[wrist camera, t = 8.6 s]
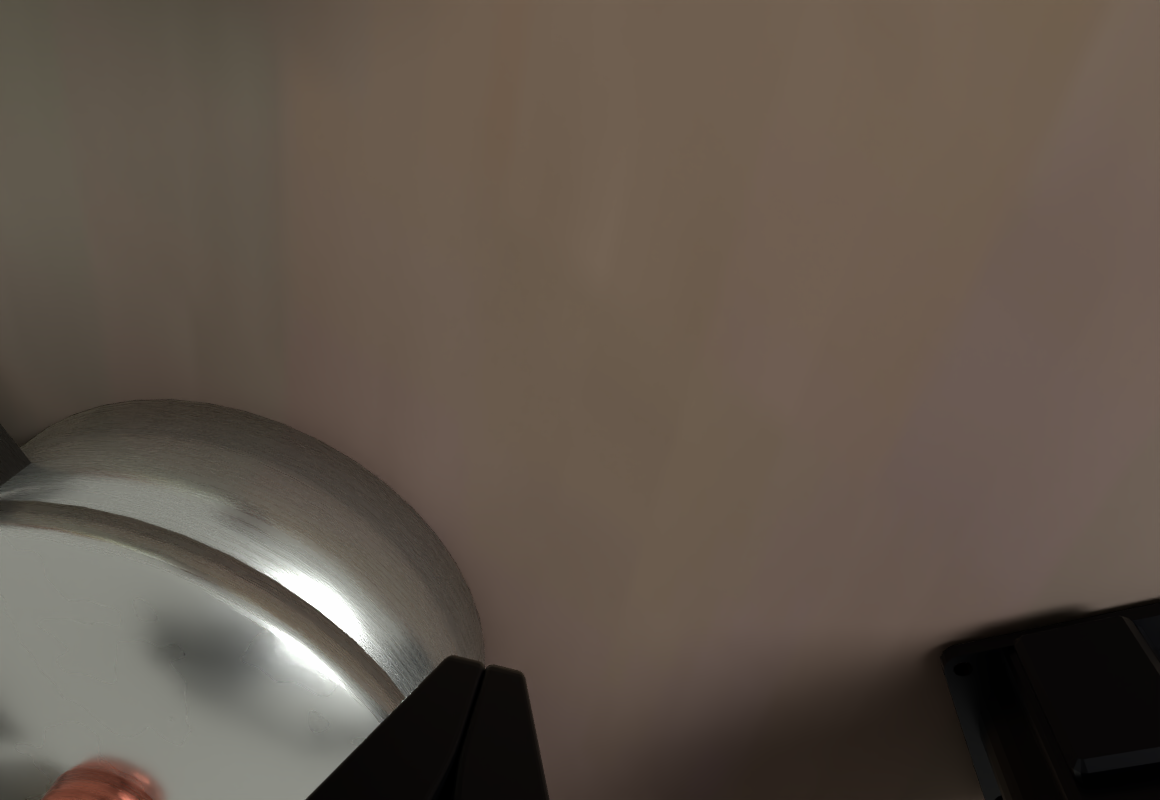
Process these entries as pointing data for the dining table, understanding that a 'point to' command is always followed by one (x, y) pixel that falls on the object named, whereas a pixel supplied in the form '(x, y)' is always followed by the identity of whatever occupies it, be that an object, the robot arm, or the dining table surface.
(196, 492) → the cooker pot
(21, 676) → the cooker lid
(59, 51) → the dining table surface
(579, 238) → the dining table surface
